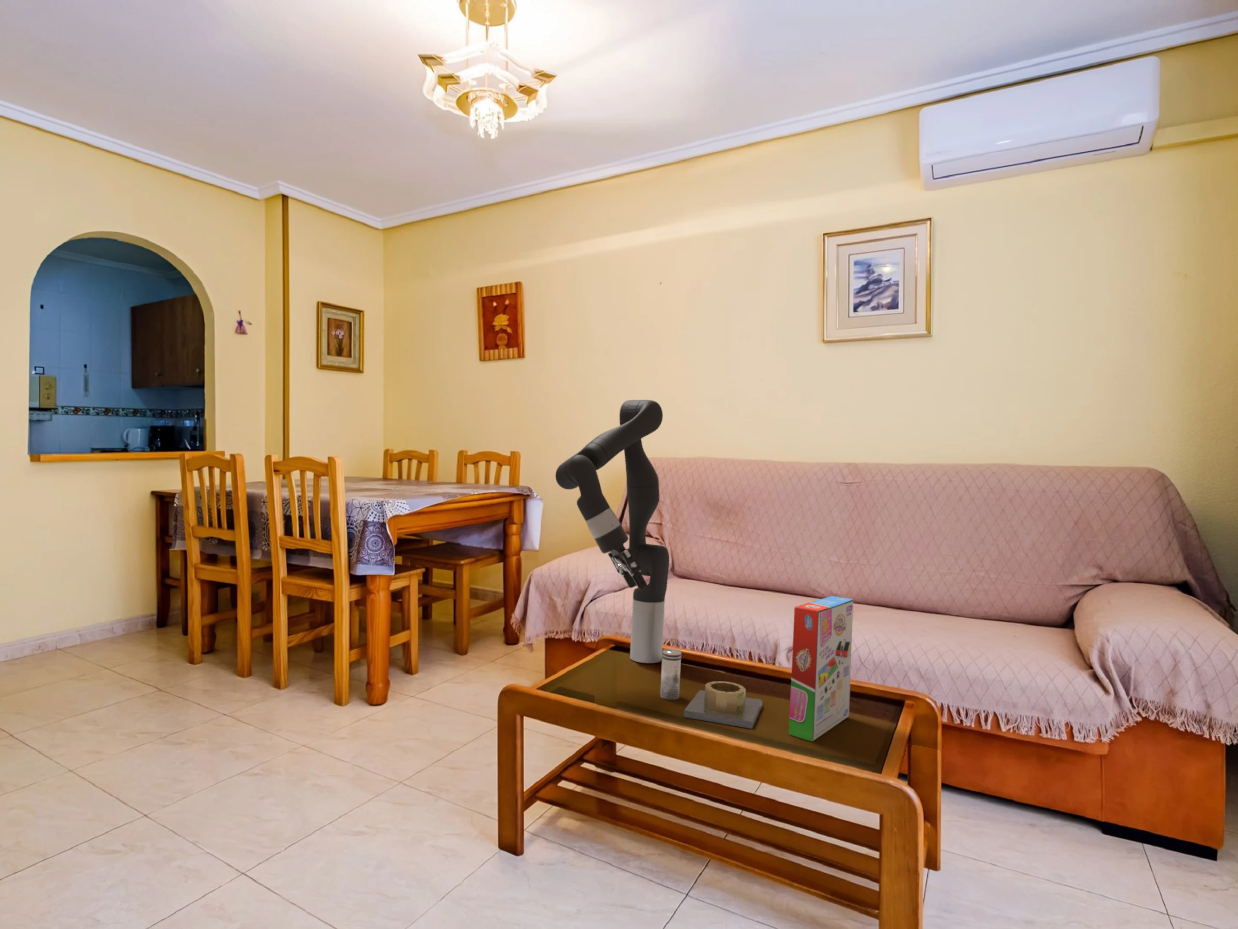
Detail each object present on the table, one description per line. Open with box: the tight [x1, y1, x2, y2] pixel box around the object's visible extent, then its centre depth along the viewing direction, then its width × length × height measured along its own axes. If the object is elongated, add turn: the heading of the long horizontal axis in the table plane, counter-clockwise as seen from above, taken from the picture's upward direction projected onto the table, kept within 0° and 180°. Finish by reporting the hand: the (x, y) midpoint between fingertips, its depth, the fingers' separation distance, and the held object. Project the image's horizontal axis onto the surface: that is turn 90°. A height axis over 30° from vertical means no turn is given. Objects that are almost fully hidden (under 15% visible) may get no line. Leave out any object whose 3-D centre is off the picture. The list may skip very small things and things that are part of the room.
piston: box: [659, 648, 682, 701], centre depth 161 cm, size 5×5×11 cm
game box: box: [788, 595, 854, 742], centre depth 147 cm, size 21×6×27 cm, turn 141°
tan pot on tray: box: [683, 680, 763, 730], centre depth 153 cm, size 16×15×6 cm
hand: (638, 587), depth 166 cm, fingers open, 8 cm apart
